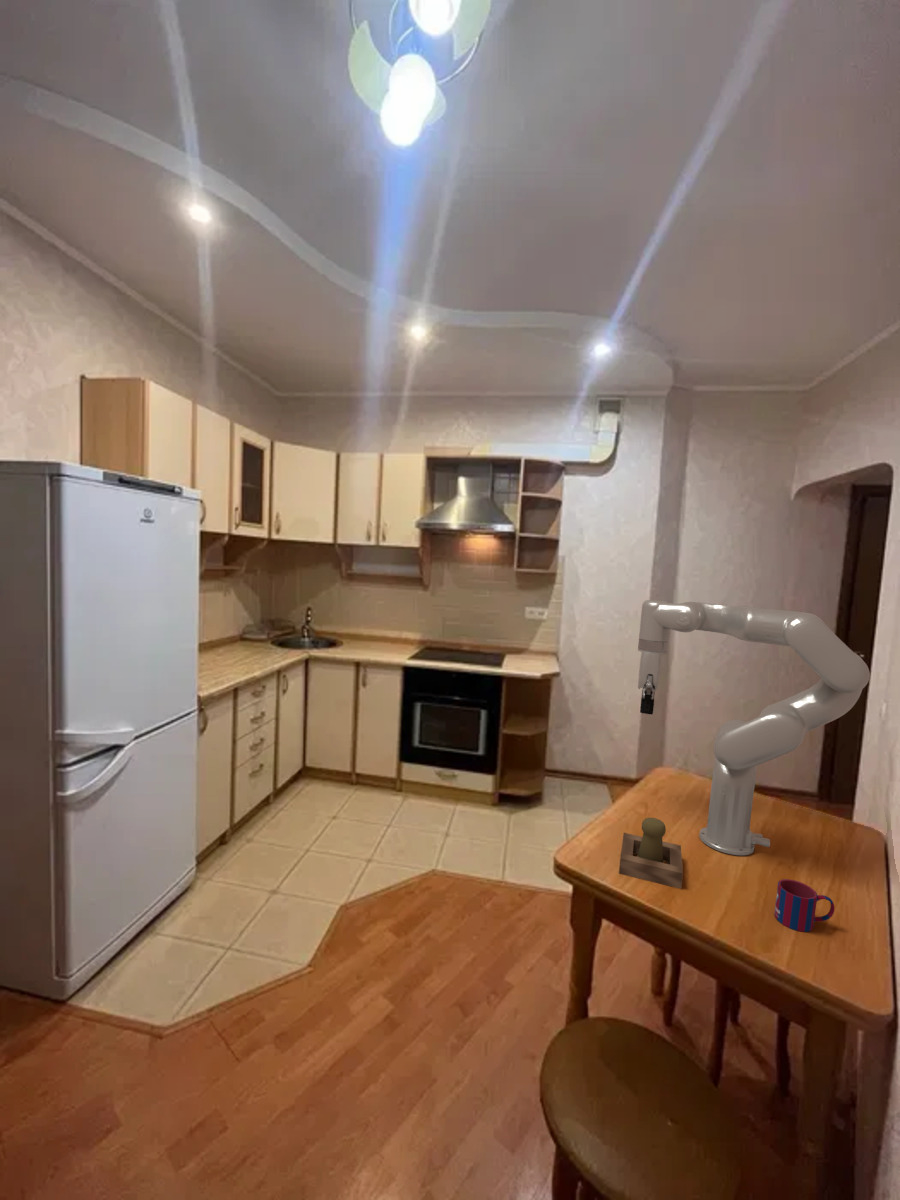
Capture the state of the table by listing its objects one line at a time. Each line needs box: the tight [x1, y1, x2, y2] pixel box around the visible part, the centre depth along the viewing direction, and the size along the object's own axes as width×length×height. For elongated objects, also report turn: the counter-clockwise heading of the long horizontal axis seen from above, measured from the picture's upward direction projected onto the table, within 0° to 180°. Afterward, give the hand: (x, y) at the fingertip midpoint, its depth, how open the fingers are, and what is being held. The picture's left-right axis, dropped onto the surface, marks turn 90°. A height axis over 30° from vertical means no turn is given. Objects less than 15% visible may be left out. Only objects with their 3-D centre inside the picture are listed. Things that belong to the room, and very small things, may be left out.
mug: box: [774, 878, 835, 933], centre depth 112 cm, size 7×10×7 cm
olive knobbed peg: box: [637, 817, 667, 863], centre depth 129 cm, size 6×6×11 cm
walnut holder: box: [618, 832, 684, 889], centre depth 130 cm, size 13×13×4 cm
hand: (646, 709), depth 152 cm, fingers open, 9 cm apart
